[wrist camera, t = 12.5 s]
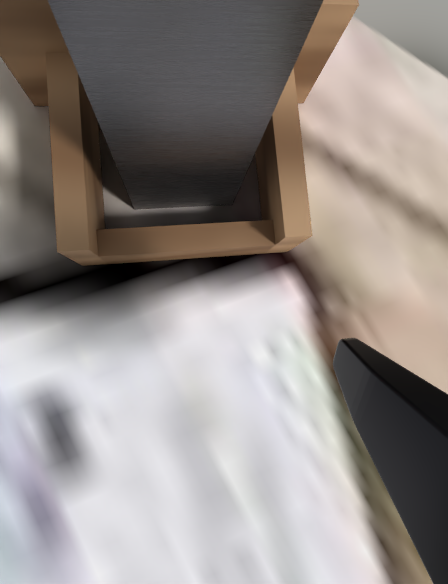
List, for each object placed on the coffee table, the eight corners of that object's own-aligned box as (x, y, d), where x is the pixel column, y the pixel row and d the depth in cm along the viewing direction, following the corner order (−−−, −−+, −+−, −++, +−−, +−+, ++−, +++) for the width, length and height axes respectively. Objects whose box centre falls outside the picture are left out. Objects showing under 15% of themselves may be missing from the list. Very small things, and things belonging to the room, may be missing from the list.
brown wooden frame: (319, 249, 18) (385, 216, 13) (43, 268, 17) (-33, 239, 11) (297, 51, 19) (349, -68, 13) (31, 49, 17) (-46, -91, 11)
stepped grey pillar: (232, 204, 18) (342, -43, 6) (134, 209, 17) (22, -59, 5) (223, 109, 18) (309, -316, 6) (127, 110, 18) (6, -364, 5)
